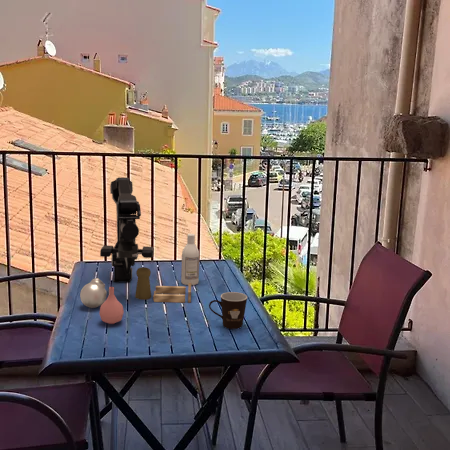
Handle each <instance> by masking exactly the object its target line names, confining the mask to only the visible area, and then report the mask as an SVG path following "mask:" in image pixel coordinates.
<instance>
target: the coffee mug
mask: <svg viewBox="0 0 450 450" xmlns="http://www.w3.org/2000/svg"><path fill="white" fill-rule="evenodd" d="M247 301H248V295H246V294H245V293H242V292H237V291H236V292H235V291H230V292H223V293H221V295H220V300H218V299H214V300H211V301H210V302H209V303H208V308H209V309H210V311H211V312H212V313H213V314H214V315H216V316H218V317H219V318H221V319H222V326H223V328H225V327H226V328H225V329H228V328H229V329H228V330H239V329H241V328H243V326H244V325H243V324H244V319H245V313H246V308H247V307H246V306H247ZM213 303H218V304H219V306H220V307H221V314H219V313H218V312H216V311H215V310H214V309H212V307H211V305H212V304H213ZM240 327H241V328H240ZM238 328H239V329H238Z"/></svg>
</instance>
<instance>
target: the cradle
mask: <svg viewBox="0 0 450 450" xmlns="http://www.w3.org/2000/svg"><path fill="white" fill-rule="evenodd" d="M186 286H188V287H186ZM186 289H188V290H187V291H186ZM186 292H187V303H188V304H190V303H192V285H191V283H189V284H188V285H184V286H178V285H177V286H175V285H173V286H171V285H155V290H154V291H153V295H152V300H153V303H186Z"/></svg>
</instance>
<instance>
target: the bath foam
mask: <svg viewBox="0 0 450 450" xmlns="http://www.w3.org/2000/svg"><path fill="white" fill-rule="evenodd" d="M195 237H196V234H194V233H187V239H186V245H184V247H183V249H182V252H181V271H180V272H181V278H180V279H181V280H180V281H181V284H182V285H184V286H188V284H189V283H191V286H195V285H198V284H199V277H200V251H199V249H198V247H197V244H195V242H196V238H195Z"/></svg>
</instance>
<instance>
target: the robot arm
mask: <svg viewBox="0 0 450 450" xmlns="http://www.w3.org/2000/svg"><path fill="white" fill-rule="evenodd" d="M133 185H134V184H133V181H131V179H130V177H116V179H115V180H113V181H110V185H109V189H110V190H109V191H110V194H111V199H112V201H113V202H114V204H115V206H116V208H115V209H116V211H115V212H116V239H117V240H116V242H115V244H114V245H103V246H102V247H101V248H100V254H99V255H100V257H101V258H102V257H103V258H105V257H106V258H108V257H109V258H110V256H111V258H110V261H111V267H112V268H113V276H114V277H113V281H112V282H113V283H130V282H131V280H132V279H133V267H134V266H135V264H136V260H138V257H139V255H141V256H142V257H143V258H145V259H147V258H148V259H149V258H150V259H151V258H154V254H155V248H154V247H153V246H142V248H139V244H138V243H136V241H137V239H136V238H137V237H138V235H139V233H140V230H139V226H138V225H137V223H136V220H140V219H141V217H142V212H141V211H142V209H141V204H140V203H139V201H138V200H137V197H136V196H135V195H133V192H134V191H133V189H134V188H133Z"/></svg>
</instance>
